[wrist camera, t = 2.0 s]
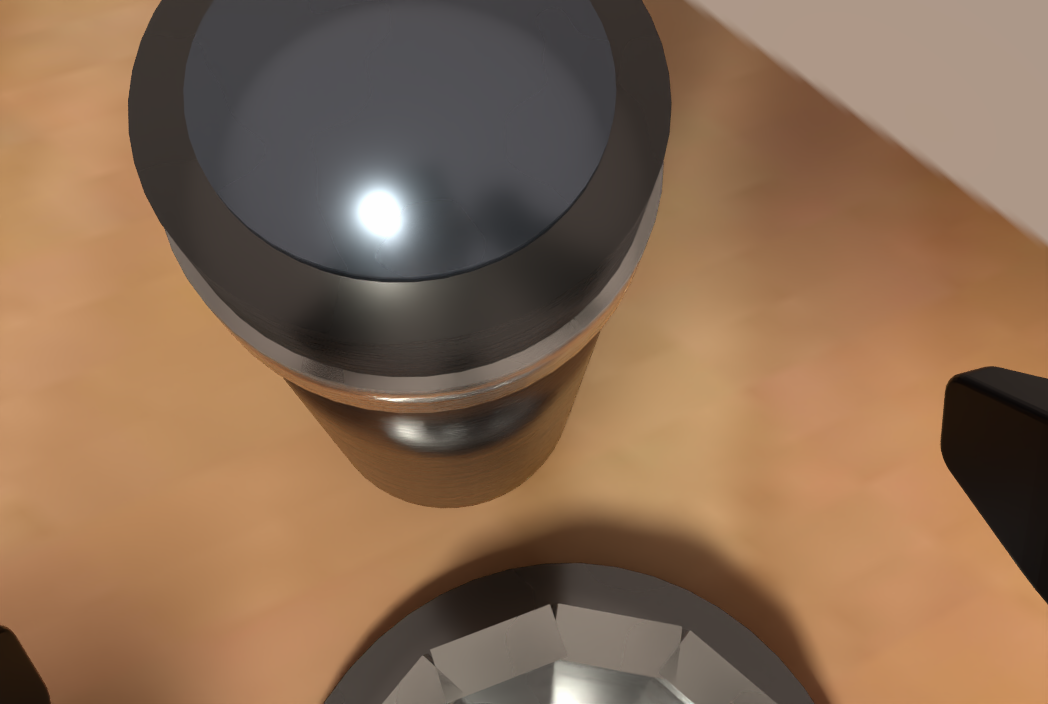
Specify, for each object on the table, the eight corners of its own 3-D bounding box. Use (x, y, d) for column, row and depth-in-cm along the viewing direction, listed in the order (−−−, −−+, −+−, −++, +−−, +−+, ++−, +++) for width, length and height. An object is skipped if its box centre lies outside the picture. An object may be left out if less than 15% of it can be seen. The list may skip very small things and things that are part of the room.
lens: (555, 537, 19) (648, 404, 8) (291, 488, 19) (20, 290, 8) (594, 290, 21) (717, -98, 10) (353, 247, 21) (203, -185, 10)
